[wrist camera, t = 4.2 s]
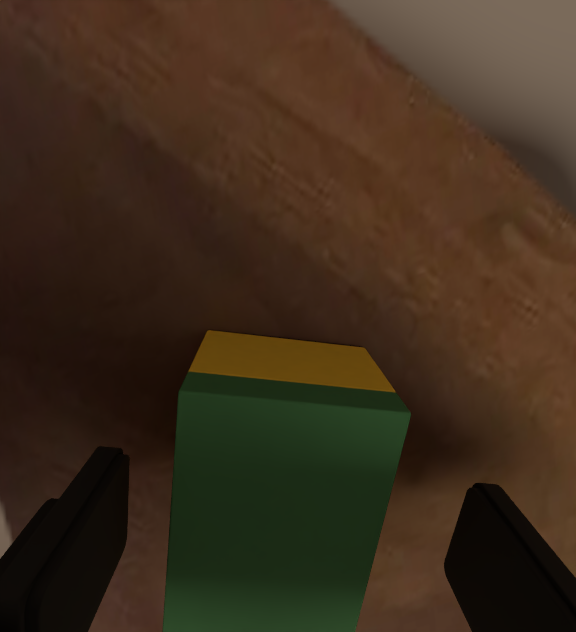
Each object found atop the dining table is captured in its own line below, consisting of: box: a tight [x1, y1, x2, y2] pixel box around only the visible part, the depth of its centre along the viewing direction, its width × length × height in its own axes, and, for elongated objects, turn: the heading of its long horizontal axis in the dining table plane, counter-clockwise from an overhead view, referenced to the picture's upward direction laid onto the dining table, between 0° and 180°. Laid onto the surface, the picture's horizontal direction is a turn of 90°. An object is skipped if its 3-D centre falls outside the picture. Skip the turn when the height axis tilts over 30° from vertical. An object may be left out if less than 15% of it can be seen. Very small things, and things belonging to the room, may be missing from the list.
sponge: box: [163, 330, 411, 632], centre depth 11 cm, size 8×5×4 cm, turn 172°
